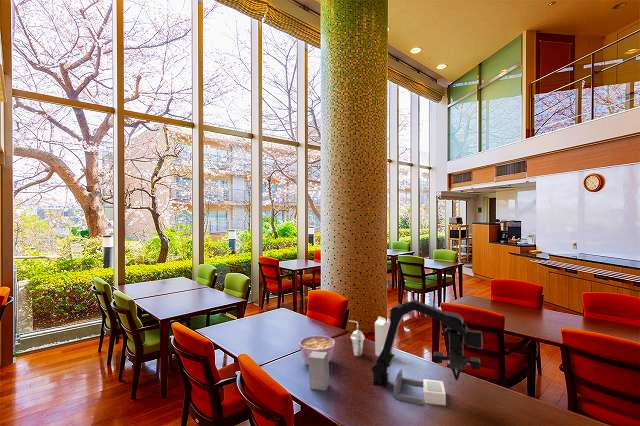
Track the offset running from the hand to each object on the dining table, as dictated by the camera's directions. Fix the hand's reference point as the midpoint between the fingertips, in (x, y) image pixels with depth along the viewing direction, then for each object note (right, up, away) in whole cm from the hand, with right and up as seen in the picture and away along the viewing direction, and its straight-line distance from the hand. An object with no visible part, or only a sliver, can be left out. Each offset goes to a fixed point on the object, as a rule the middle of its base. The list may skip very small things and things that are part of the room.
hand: (456, 379), depth 140 cm
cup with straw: (-37, -10, +49) cm, 62 cm away
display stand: (-18, -10, +8) cm, 22 cm away
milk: (-23, -10, +47) cm, 53 cm away
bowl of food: (-61, -11, +38) cm, 73 cm away
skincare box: (-60, -11, +14) cm, 62 cm away
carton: (-8, -10, +4) cm, 14 cm away
